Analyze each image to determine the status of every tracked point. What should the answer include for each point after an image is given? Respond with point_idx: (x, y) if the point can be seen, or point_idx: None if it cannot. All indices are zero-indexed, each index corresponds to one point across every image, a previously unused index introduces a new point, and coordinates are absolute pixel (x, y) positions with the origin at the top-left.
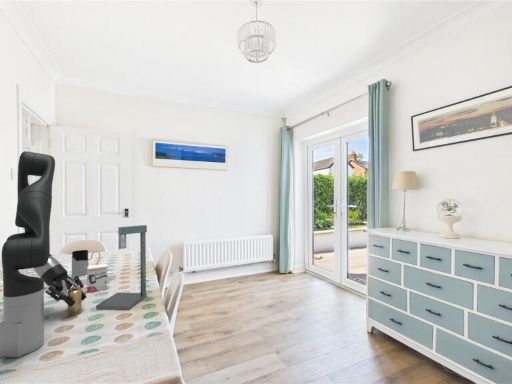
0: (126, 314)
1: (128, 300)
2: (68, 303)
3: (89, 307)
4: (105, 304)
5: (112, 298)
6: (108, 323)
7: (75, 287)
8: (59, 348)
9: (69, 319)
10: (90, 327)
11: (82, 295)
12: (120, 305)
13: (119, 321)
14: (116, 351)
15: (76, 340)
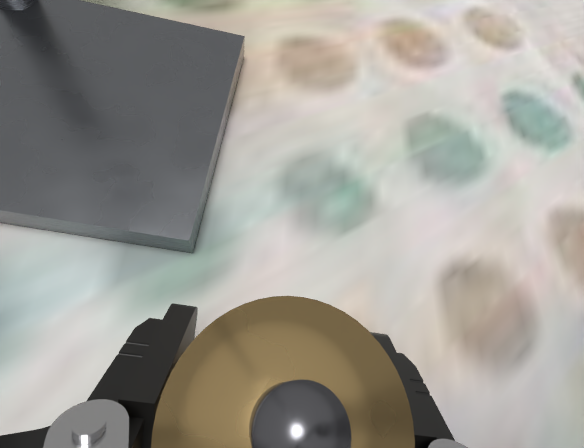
0: (299, 57)
1: (134, 55)
2: None
3: None
4: (181, 175)
5: (35, 171)
6: (399, 103)
7: (307, 403)
8: None
9: None
10: (449, 166)
11: (182, 347)
12: (221, 78)
13: (375, 67)
14: (562, 30)
15: (560, 171)
